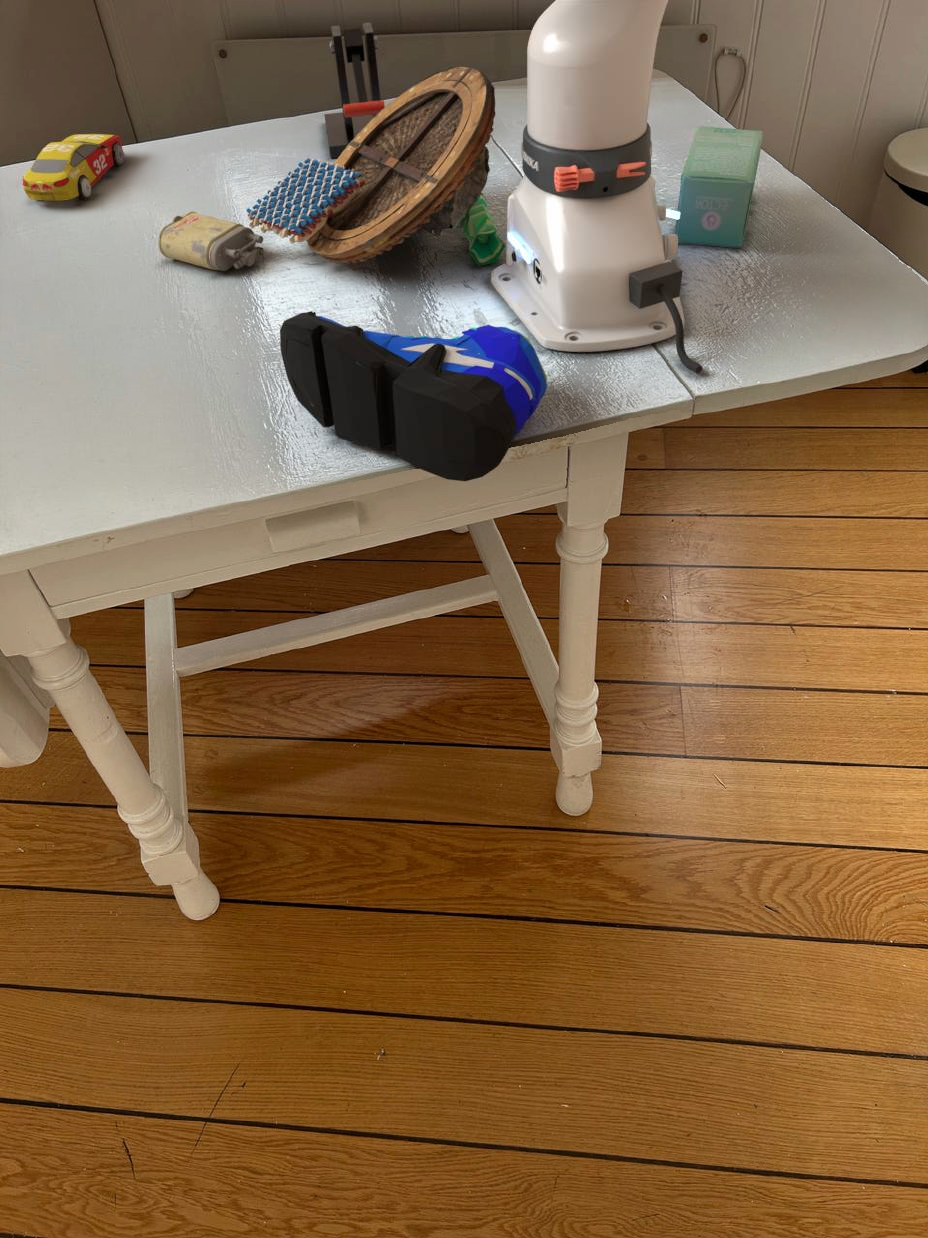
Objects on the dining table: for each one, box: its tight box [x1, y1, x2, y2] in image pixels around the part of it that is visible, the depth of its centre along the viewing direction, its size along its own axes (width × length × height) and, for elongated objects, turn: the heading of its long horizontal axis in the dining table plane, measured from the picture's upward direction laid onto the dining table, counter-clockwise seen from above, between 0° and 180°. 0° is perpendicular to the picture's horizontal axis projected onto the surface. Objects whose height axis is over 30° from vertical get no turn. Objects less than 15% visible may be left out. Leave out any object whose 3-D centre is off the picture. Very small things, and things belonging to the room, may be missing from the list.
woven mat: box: [246, 157, 366, 244], centre depth 99 cm, size 10×11×2 cm
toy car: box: [22, 133, 125, 202], centre depth 119 cm, size 8×17×5 cm, turn 171°
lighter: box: [157, 211, 265, 272], centre depth 102 cm, size 7×4×10 cm
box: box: [674, 126, 764, 249], centre depth 101 cm, size 7×14×8 cm, turn 164°
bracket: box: [324, 21, 382, 160], centre depth 121 cm, size 12×10×13 cm
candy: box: [459, 191, 506, 267], centre depth 102 cm, size 12×3×4 cm
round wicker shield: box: [306, 66, 496, 264], centre depth 99 cm, size 25×3×25 cm
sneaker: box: [279, 310, 548, 482], centre depth 79 cm, size 9×24×15 cm
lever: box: [342, 27, 386, 118], centre depth 116 cm, size 12×5×2 cm, turn 9°
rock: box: [419, 145, 491, 239], centre depth 101 cm, size 17×10×10 cm
